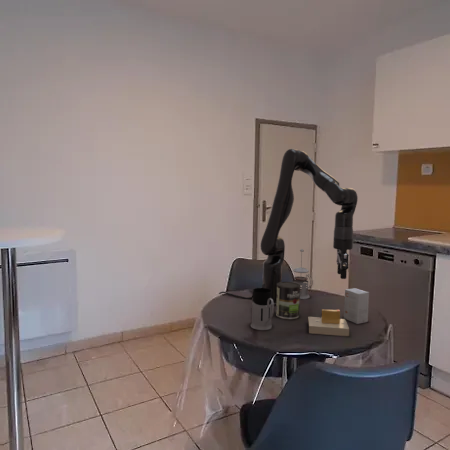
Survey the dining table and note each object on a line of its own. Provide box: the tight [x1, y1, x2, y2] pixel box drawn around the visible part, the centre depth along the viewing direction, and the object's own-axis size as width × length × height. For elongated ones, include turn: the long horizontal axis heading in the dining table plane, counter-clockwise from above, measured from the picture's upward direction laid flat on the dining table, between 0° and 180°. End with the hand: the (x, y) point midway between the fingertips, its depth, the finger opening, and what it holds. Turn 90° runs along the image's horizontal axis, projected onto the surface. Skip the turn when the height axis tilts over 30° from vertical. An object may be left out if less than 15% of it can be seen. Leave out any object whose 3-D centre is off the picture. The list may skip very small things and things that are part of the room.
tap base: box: [307, 316, 350, 337], centre depth 152 cm, size 15×11×3 cm
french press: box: [292, 248, 314, 300], centre depth 198 cm, size 10×12×25 cm
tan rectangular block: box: [320, 308, 341, 324], centre depth 151 cm, size 7×2×5 cm, turn 80°
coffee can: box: [275, 281, 301, 320], centre depth 168 cm, size 10×10×14 cm
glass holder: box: [250, 287, 275, 331], centre depth 152 cm, size 9×14×15 cm, turn 20°
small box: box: [343, 287, 370, 325], centre depth 163 cm, size 8×6×13 cm
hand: (341, 276), depth 156 cm, fingers open, 8 cm apart
